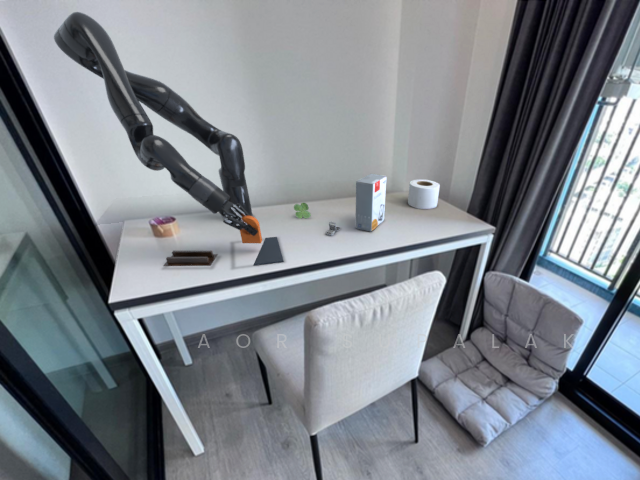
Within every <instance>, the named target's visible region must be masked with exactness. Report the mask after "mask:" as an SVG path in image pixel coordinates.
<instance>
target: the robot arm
mask: <svg viewBox="0 0 640 480" xmlns="http://www.w3.org/2000/svg"><path fill="white" fill-rule="evenodd" d="M53 40H54V42H55V44H56V46H57V47H58V48H59V49H60V51H61V52H62V53H63V54H64V55H66V57H68V58H70V59H71V61H74V63H77V64H78V65H79V66H81V67H83V68H84V69H86V70H88V71H89V72H91V73H93V74H95V75H96V76H98V77H100V78H101V79H103V82H104V86H105V93H106V96H107V100H108V103H109V106H110V108H111V109H112V112H113V113H114V115H115V116H116V118H117V119H118V121H119V123H120V124H121V126H122V128H123V129H124V131H125V133H126V134H127V138H128V140H129V142H130V145H131V147H132V150H133V152H134V154H135V156H136V157H137V159H138V160H139V162H140V163H141V164H142V165H144V167H145V168H147V169H149V170H152V171H155V172H156V171H158V172H159V171H162V170H164V169H166V171H168V172H169V176H170V180H171V181H172V182H173V183H174V184H175V185H176V186H178V187H179V188H180V189H182V190H183V191H184V192H186V193H187V194H188V195H189V196H190V197H191V198H192V199H194V200H195V201H196V202H198V203H199V204H200V205H202V206H203V207H204V208H206V209H207V210H208V211H210V212H211V213H212V214H214V215H215V214H217V213H219V214H220V216H222V217H223V220H222V222H223V223H224V224H225V225H227V226H229V227H232V228H234V229H236V230H238V231H240V230H241V229H245V230H246V231H248V232H249V233H250V234H251V235H253V236H255V235H256V234H257V232H258V231H257V230H256V229H255V228H253V227H252V226H251V225H250V224H248V223H247V222H246V221H245V220H243V217H244V216H253V217H254V214H253V210H252V205H251V200H250V194H249V190H248V189H249V188H248V184H247V179H246V174H245V173H246V172H245V171H246V164H245V163H246V162H245V157H244V156H245V155H244V150H243V146H242V143H241V141H240V139H239V138H238V137H237V136H236V135H234V134H232V133H230V132H227V131H225V130H224V131H223V130H222V129H219V128H218V127H216V126H215V125H213V124H212V123H210V122H209V121H207V120H206V119H204V118H203V117H202V116H200V114H199V113H198V112H197V111H196V110H195V109H194V107H192V105H191V104H190V103H188V101H187V100H185V98H184V97H182V96H181V95H180V94H179V93H178V92H175V91H174V90H173V89H172V88H171V87H170V86H168V85H167V84H165V83H164V82H162V81H160V80H157V79H154V78H153V77H148V76H145V75H141V74H137V73H134V72H131V71H128V70H126V69H125V67H124V65H123V63H122V61H121V59H120V56H119V53H118V52H117V49H116V47H115V44H114V43H113V41H112V39H111V37H110V35H109V33H108V32H107V31H106V30H105V28H104V27H103V26H102V25H101V24H100V23H99V22H98V21H97V20H96V19H94V18H93V17H91V16H89V15H88V14H86V13H84V12H80V11H74V12H72V13H70V14H69V15H67V17H66V18H65V19H64V21H63V22H62V23H61V25H59V27H58V28H57V29H56V31H55V32H54V34H53ZM142 104H143V105H144V106H145V107H147V108H148V109H149V110H151V111H152V112H154V113H155V114H157V115H158V116H159V117H161V118H163V120H165V121H167V122H169V123H170V124H171V125H173V126H175V127H177V128H179V129H180V130H182V131H184V132H185V133H187V134H189V135H191V136H192V137H194V138H195V139H196V140H197V141H199V142H200V143H201V144H203V145H204V146H205V147H206V148H207V149H208V150H210V151H211V152H212V153H214V154H215V155H216V156H218V157H219V162H220V168H219V169H218V175H219V179H220V184H221V188H220V186H218V185H216V184H215V183H214V182H213V181H211V180H210V179H209V178H207V177H205V176H204V175H203V174H201V173H200V172H199V171H198V170H196V169H195V168H194V167H193V166H191V165H190V164H189V162H188V161H187V160H186V159H185V158H184V157H183V155H182V154H181V153H180V152H179V151H178V150H177V148H176V147H175V146H174V145H172V144H171V143H170V142H169V141H168V140H167V139H165V138H163V137H161V136H159V135H155V134H154V125H153V122H152V121H151V119H150V117H149V115H148V114H147V112H146V110H145V109H144V107H143V106H142Z"/></svg>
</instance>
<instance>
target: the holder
mask: <svg viewBox="0 0 640 480" xmlns="http://www.w3.org/2000/svg"><path fill="white" fill-rule="evenodd" d="M171 254H172V255H171V256H166V257H165V260H166V262H165V263H164V264H163V265H162V266H163V267H210V266H212V264H213V263H214V261H215V260H216V258H217V257H218V255H219V254H218V253H214V251H213V250H172V251H171Z"/></svg>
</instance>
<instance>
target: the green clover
mask: <svg viewBox="0 0 640 480" xmlns="http://www.w3.org/2000/svg"><path fill="white" fill-rule="evenodd" d="M309 208H310V207H309V205H308V203H306V202H301V203H300V204H298V203H296V204H294V205H293V210H294V211H296V212H295V214H294V215H295V217H296V218H297V219H302V218H303V219H309V218H310V217H311V216H312V214H311V212H310V211H309Z"/></svg>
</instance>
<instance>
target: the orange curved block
mask: <svg viewBox="0 0 640 480" xmlns="http://www.w3.org/2000/svg"><path fill="white" fill-rule="evenodd" d="M243 220H245V221H246V222H247V223H248V224H250V225H251V226H252V227H253V228H255V229H256V230H257V231H258V232H257V234H256V235H255V236H253V235H251V234H250V233H249V232H248V231H246V230H245V229H241V230H239V234H240V238H241V242H242V244H262V242H263V237H262V231H261V225H260V221H259V220H258V219H257V218H256V217H255V216H254V215H253V216H244V217H243Z"/></svg>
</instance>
